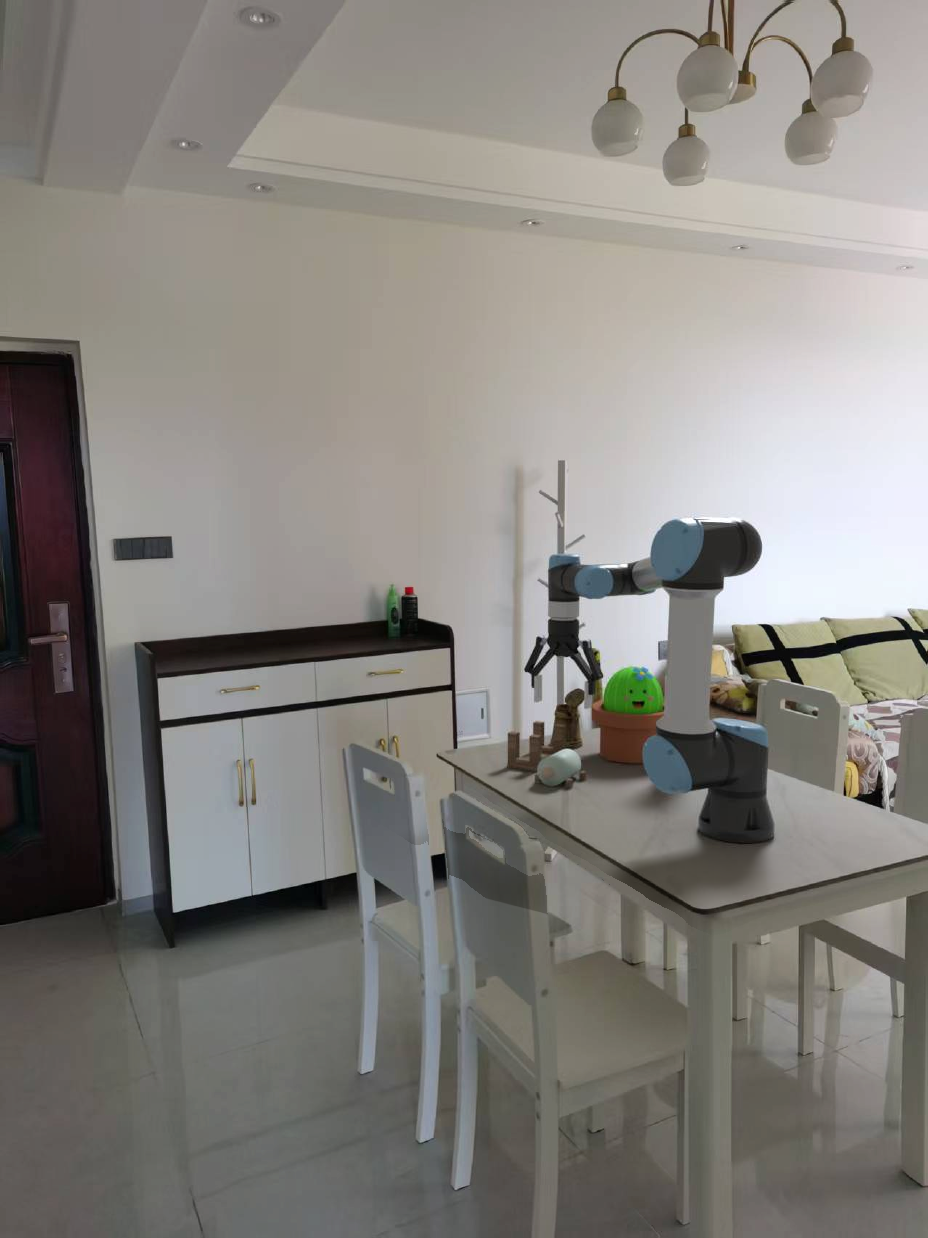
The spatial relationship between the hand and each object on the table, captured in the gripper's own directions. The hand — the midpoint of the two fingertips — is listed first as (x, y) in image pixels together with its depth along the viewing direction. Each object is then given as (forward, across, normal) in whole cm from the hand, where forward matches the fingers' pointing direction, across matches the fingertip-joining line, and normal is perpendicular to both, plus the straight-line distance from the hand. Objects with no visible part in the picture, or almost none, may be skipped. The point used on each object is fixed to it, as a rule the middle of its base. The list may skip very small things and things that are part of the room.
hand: (562, 704), depth 227 cm
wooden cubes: (+19, 0, 0) cm, 19 cm away
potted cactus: (+19, -6, -30) cm, 37 cm away
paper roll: (+19, 0, 0) cm, 19 cm away
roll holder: (+19, +13, -11) cm, 26 cm away
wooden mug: (+20, +13, -30) cm, 38 cm away
